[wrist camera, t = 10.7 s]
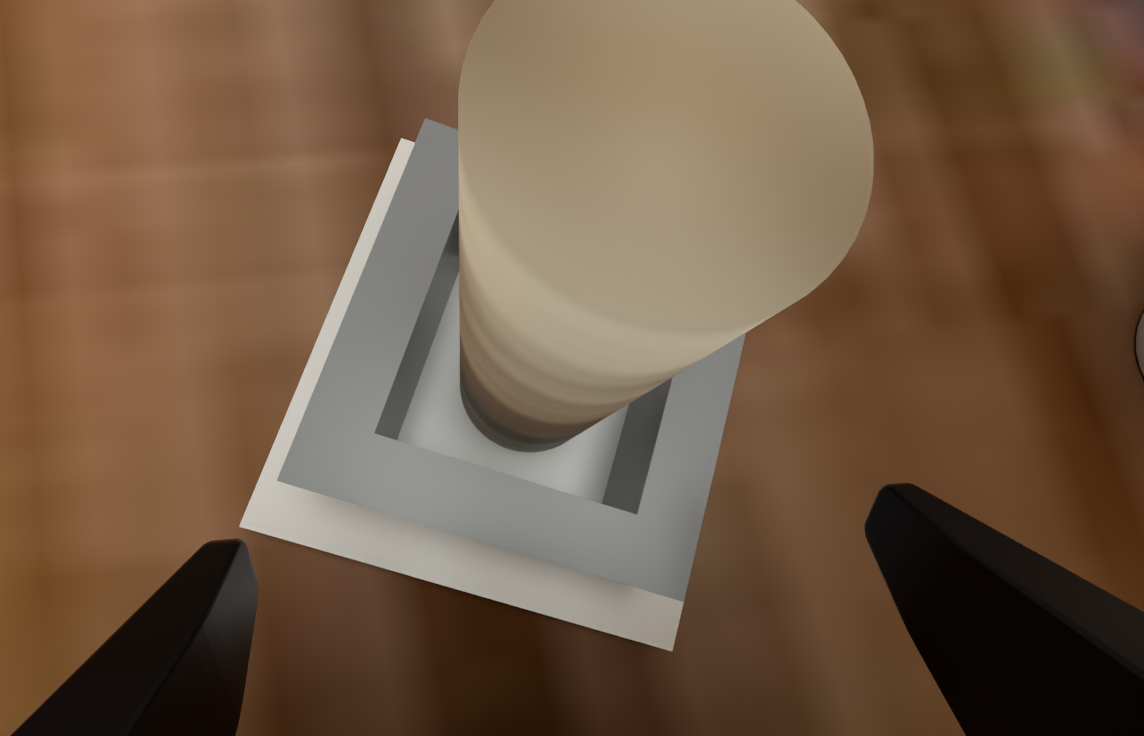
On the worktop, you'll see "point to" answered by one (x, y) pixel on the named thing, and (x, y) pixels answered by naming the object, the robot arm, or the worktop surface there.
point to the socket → (481, 443)
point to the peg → (641, 196)
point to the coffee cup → (1140, 344)
